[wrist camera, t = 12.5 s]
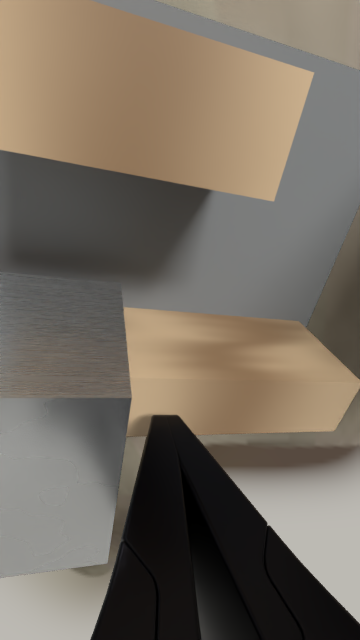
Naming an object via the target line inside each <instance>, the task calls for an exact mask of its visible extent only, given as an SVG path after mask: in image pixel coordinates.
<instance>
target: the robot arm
mask: <svg viewBox="0 0 360 640" xmlns="http://www.w3.org/2000/svg"><path fill="white" fill-rule="evenodd" d="M91 640H360V624H359V623H358V622H357V621H356V619H355V618H353V616H352V615H351V614H350V613H349V612H348V611H347V610H346V609H345V608H344V607H343V606H342V605H341V604H340V603H339V602H338V601H337V600H336V599H335V598H334V597H333V596H332V595H331V594H330V593H329V592H328V591H327V590H326V589H325V587H324V586H323V585H322V584H321V583H320V582H319V581H318V580H317V579H316V578H315V577H314V576H313V575H312V574H311V573H310V572H309V570H308V569H307V568H306V567H305V566H304V565H303V564H302V563H301V562H300V561H299V560H298V558H297V557H296V556H295V555H294V554H293V553H292V551H291V550H290V549H289V548H288V547H287V545H286V544H285V543H284V542H283V541H282V540H281V538H280V537H279V536H278V535H277V534H276V533H275V531H274V530H273V529H272V528H271V526H267V522H266V521H265V519H264V518H263V517H262V516H261V515H260V513H259V512H258V511H257V510H256V508H255V507H254V506H253V505H252V504H251V502H250V501H249V500H248V499H247V497H246V496H245V495H244V494H243V493H242V491H241V490H240V489H239V488H238V487H237V485H236V484H235V483H234V482H233V481H232V479H231V478H230V477H229V476H228V474H227V473H226V472H225V471H224V470H223V468H222V467H221V466H220V465H219V464H218V462H217V461H216V460H215V459H214V458H213V456H212V455H211V454H210V453H209V451H208V450H207V449H206V448H205V447H204V445H203V444H202V443H201V442H200V441H199V439H198V438H197V437H196V436H195V434H194V433H193V432H192V431H191V430H190V428H189V427H188V426H187V425H186V424H185V422H184V421H183V420H182V419H181V418H180V416H178V415H153V416H152V417H151V421H150V425H149V429H148V433H147V437H146V441H145V445H144V449H143V453H142V458H141V462H140V466H139V470H138V474H137V478H136V482H135V486H134V490H133V494H132V498H131V502H130V506H129V510H128V514H127V518H126V522H125V526H124V530H123V534H122V538H121V542H120V545H119V549H118V553H117V558H116V562H115V565H114V569H113V572H112V576H111V579H110V583H109V587H108V590H107V594H106V597H105V600H104V603H103V605H102V609H101V611H100V614H99V617H98V620H97V623H96V626H95V629H94V632H93V634H92V637H91Z"/></svg>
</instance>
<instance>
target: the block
mask: <svg viewBox="0 0 360 640" xmlns="http://www.w3.org/2000/svg"><path fill="white" fill-rule="evenodd" d="M313 75H314V72H311V71H308V70H305V69H302V68H298V67H295V66H292V65H289V64H286V63H283V62H280V61H277V60H274V59H271V58H268V57H264V56H261V55H258V54H255V53H252V52H249V51H246V50H243V49H240V48H237V47H234V46H230V45H227V44H224V43H221V42H218V41H215V40H212V39H209V38H206V37H203V36H200V35H196V34H193V33H190V32H187V31H184V30H181V29H178V28H175V27H172V26H169V25H166V24H162V23H159V22H156V21H153V20H150V19H147V18H144V17H141V16H138V15H135V14H132V13H128V12H125V11H122V10H119V9H116V8H113V7H110V6H107V5H104V4H101V3H98V2H94V1H91V0H0V150H5V151H10V152H15V153H21V154H26V155H31V156H36V157H42V158H47V159H52V160H57V161H63V162H68V163H73V164H78V165H84V166H89V167H94V168H100V169H105V170H110V171H115V172H121V173H126V174H131V175H136V176H142V177H147V178H152V179H157V180H163V181H168V182H173V183H179V184H184V185H189V186H194V187H200V188H205V189H210V190H215V191H221V192H226V193H231V194H236V195H242V196H247V197H252V198H258V199H263V200H268V201H273V202H274V200H275V196H276V193H277V190H278V187H279V184H280V180H281V177H282V174H283V171H284V168H285V165H286V161H287V158H288V155H289V152H290V149H291V145H292V142H293V139H294V136H295V133H296V129H297V126H298V123H299V120H300V117H301V114H302V110H303V107H304V104H305V101H306V98H307V94H308V91H309V88H310V85H311V82H312V78H313ZM123 309H124V320H125V330H126V341H127V352H128V362H129V373H130V384H131V394H132V400H131V407H130V414H129V421H128V427H127V434H126V437H137V436H147V433H148V429H149V425H150V421H151V417H152V416H153V415H178V416H180V418H181V419H182V420H183V421H184V422H185V424H186V425H187V426H188V427H189V428H190V430H191V431H192V432H193V433H194V434H195V435H209V434H246V433H282V432H318V431H335V429H336V427H337V426H338V424H339V422H340V421H341V419H342V417H343V415H344V414H345V412H346V410H347V409H348V407H349V405H350V404H351V402H352V400H353V399H354V397H355V395H356V393H357V392H358V390H359V388H360V380H359V379H358V378H357V377H356V376H355V375H354V374H353V373H352V372H351V371H350V370H349V369H348V368H347V367H346V366H345V365H344V364H343V363H342V362H341V361H340V360H338V359H337V358H336V357H335V356H334V355H333V354H332V353H331V352H330V351H329V350H328V349H327V348H326V347H325V346H324V345H323V344H322V343H321V342H320V341H319V340H318V339H317V338H316V337H315V336H314V335H313V334H312V333H311V332H310V331H309V330H307V329H306V328H305V327H304V326H303V325H302V324H301V323H300V322H299V321H292V320H279V319H267V318H254V317H241V316H229V315H216V314H204V313H191V312H178V311H166V310H153V309H141V308H128V307H123Z"/></svg>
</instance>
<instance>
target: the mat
mask: <svg viewBox="0 0 360 640" xmlns="http://www.w3.org/2000/svg"><path fill="white" fill-rule="evenodd" d="M91 1H94V2H98V3H101V4H104V5H107V6H110V7H113V8H116V9H119V10H122V11H125V12H128V13H132V14H135V15H138V16H141V17H144V18H147V19H150V20H153V21H156V22H159V23H162V24H166V25H169V26H172V27H175V28H178V29H181V30H184V31H187V32H190V33H193V34H196V35H200V36H203V37H206V38H209V39H212V40H215V41H218V42H221V43H224V44H227V45H230V46H234V47H237V48H240V49H243V50H246V51H249V52H252V53H255V54H258V55H261V56H264V57H268V58H271V59H274V60H277V61H280V62H283V63H286V64H289V65H292V66H295V67H298V68H302V69H305V70H308V71H311V72H314V75H313V78H312V82H311V85H310V88H309V91H308V94H307V98H306V101H305V104H304V107H303V110H302V114H301V117H300V120H299V123H298V126H297V129H296V133H295V136H294V139H293V142H292V145H291V149H290V152H289V155H288V158H287V161H286V165H285V168H284V171H283V174H282V177H281V180H280V184H279V187H278V190H277V193H276V196H275V200H274V202H273V201H268V200H263V199H258V198H252V197H247V196H242V195H236V194H231V193H226V192H221V191H215V190H210V189H205V188H200V187H194V186H189V185H184V184H179V183H173V182H168V181H163V180H157V179H152V178H147V177H142V176H136V175H131V174H126V173H121V172H115V171H110V170H105V169H100V168H94V167H89V166H84V165H78V164H73V163H68V162H63V161H57V160H52V159H47V158H42V157H36V156H31V155H26V154H21V153H15V152H10V151H5V150H0V272H6V273H16V274H27V275H38V276H49V277H60V278H71V279H81V280H92V281H103V282H114V283H121V288H122V298H123V307H128V308H141V309H153V310H166V311H178V312H191V313H204V314H216V315H229V316H241V317H254V318H267V319H279V320H292V321H299V322H300V323H301V324H302V325H303V326H304V327H305V328H306V327H307V325H308V322H309V320H310V318H311V315H312V313H313V311H314V309H315V306H316V304H317V302H318V299H319V297H320V295H321V293H322V290H323V288H324V286H325V283H326V281H327V279H328V277H329V274H330V272H331V270H332V267H333V265H334V263H335V261H336V258H337V256H338V254H339V251H340V249H341V247H342V245H343V242H344V240H345V238H346V235H347V233H348V231H349V228H350V226H351V224H352V222H353V219H354V217H355V215H356V212H357V210H358V208H359V206H360V70H357V69H354V68H351V67H349V66H346V65H343V64H340V63H337V62H334V61H331V60H328V59H325V58H322V57H319V56H316V55H313V54H310V53H307V52H304V51H302V50H299V49H296V48H293V47H290V46H287V45H284V44H281V43H278V42H275V41H272V40H269V39H266V38H263V37H260V36H258V35H255V34H252V33H249V32H246V31H243V30H240V29H237V28H234V27H231V26H228V25H225V24H222V23H219V22H216V21H214V20H211V19H208V18H205V17H202V16H199V15H196V14H193V13H190V12H187V11H184V10H181V9H178V8H175V7H172V6H170V5H167V4H164V3H161V2H158V1H155V0H91Z"/></svg>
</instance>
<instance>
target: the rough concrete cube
mask: <svg viewBox="0 0 360 640" xmlns="http://www.w3.org/2000/svg"><path fill="white" fill-rule="evenodd" d="M131 400H132V394H131V384H130V373H129V362H128V352H127V341H126V330H125V320H124V309H123V298H122V288H121V283H114V282H103V281H92V280H81V279H71V278H60V277H49V276H38V275H27V274H16V273H6V272H0V578H2V577H10V576H18V575H25V574H33V573H40V572H48V571H55V570H62V569H70V568H77V567H85V566H92V565H100V564H107V563H108V556H109V549H110V543H111V536H112V529H113V522H114V516H115V509H116V502H117V495H118V488H119V482H120V475H121V468H122V461H123V455H124V448H125V441H126V434H127V427H128V421H129V414H130V407H131Z"/></svg>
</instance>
